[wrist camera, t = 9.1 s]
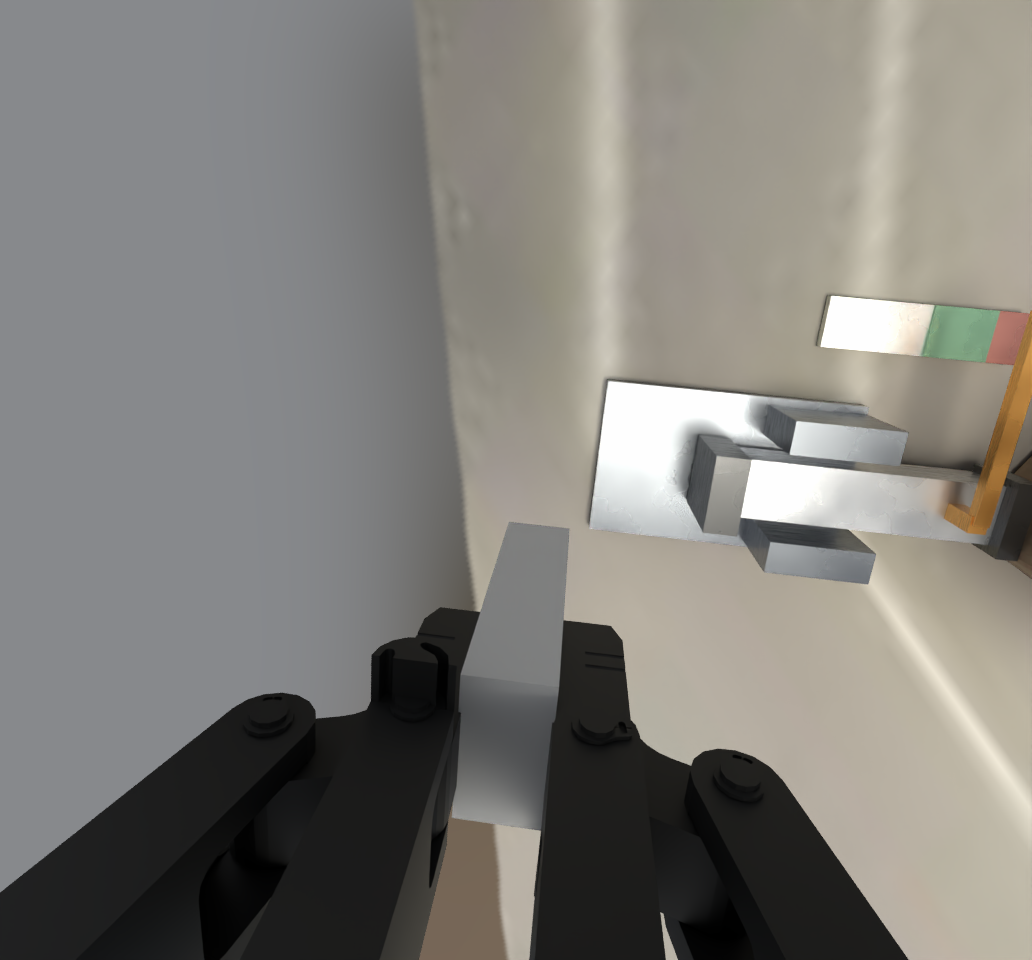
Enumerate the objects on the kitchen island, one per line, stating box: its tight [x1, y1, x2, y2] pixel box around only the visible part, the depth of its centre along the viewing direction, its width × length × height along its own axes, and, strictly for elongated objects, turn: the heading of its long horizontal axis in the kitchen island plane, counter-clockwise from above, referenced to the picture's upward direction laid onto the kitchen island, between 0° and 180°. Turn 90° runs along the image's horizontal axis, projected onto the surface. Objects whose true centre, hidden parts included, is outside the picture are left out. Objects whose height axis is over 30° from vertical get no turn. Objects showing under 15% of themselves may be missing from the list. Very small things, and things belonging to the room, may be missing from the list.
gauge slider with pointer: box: [687, 311, 1032, 561], centre depth 31 cm, size 11×15×5 cm
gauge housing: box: [589, 296, 1030, 584], centre depth 32 cm, size 14×20×5 cm
